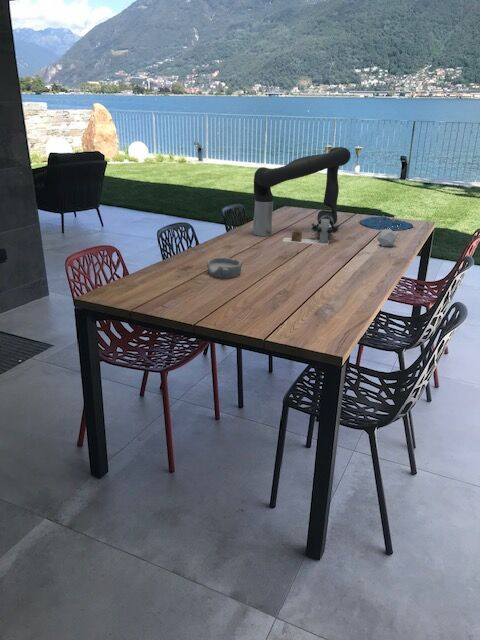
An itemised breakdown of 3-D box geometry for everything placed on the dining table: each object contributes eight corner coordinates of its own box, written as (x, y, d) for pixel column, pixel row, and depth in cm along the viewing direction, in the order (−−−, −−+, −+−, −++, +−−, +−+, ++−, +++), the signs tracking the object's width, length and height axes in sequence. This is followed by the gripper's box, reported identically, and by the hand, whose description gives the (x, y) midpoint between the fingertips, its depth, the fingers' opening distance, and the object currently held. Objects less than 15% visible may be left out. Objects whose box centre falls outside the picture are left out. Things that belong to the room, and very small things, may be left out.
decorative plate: (419, 234, 292) (421, 225, 290) (365, 232, 292) (366, 222, 290) (405, 221, 319) (406, 212, 317) (355, 218, 319) (356, 210, 317)
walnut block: (291, 241, 257) (292, 231, 255) (292, 239, 261) (293, 229, 260) (300, 241, 256) (301, 232, 255) (301, 239, 261) (302, 230, 259)
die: (393, 250, 255) (402, 232, 256) (378, 241, 254) (388, 223, 254) (385, 251, 263) (394, 235, 264) (371, 243, 262) (380, 226, 262)
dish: (229, 281, 203) (229, 268, 201) (199, 274, 209) (199, 262, 207) (248, 272, 214) (249, 260, 212) (220, 266, 221) (220, 254, 219)
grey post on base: (282, 243, 257) (283, 218, 252) (284, 239, 264) (285, 215, 259) (328, 246, 253) (330, 221, 248) (328, 242, 260) (331, 218, 256)
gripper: (312, 215, 267) (309, 222, 252) (340, 217, 265) (340, 224, 249) (311, 230, 270) (308, 238, 254) (339, 232, 268) (338, 240, 252)
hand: (324, 231), depth 252 cm, fingers closed on grey post on base, 4 cm apart
